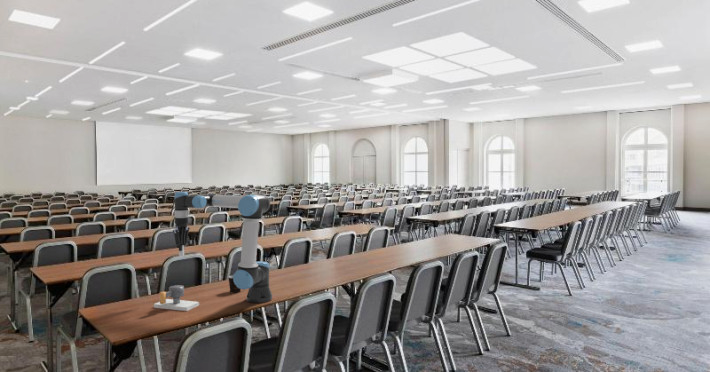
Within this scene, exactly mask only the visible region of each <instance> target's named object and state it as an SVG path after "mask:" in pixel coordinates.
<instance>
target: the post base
mask: <svg viewBox="0 0 710 372" xmlns="http://www.w3.org/2000/svg"><path fill="white" fill-rule="evenodd" d="M198 306H200V301H195V300H194V301H193V300H183V299H181V297H176V298H172V299H171V298H166V303H165V304H160V301H158V302H156V303H153V308H155V309H161V310H162V309H163V310H164V309H165V310H174V311H184V312H188V311H190V310H193V309H194V308H196V307H198Z"/></svg>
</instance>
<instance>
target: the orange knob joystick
mask: <svg viewBox="0 0 710 372" xmlns="http://www.w3.org/2000/svg"><path fill="white" fill-rule="evenodd" d="M184 296H185V286H184V285H181V284H179V285H178V284H177V285H176V284H175V285H171V286H169V287H168V291H160V292H159V302H160V304H165V303H166V299H167V298H168V297H169V298H172V299H173V298H176V297H180V298H181V297H184Z"/></svg>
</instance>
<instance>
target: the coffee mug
mask: <svg viewBox="0 0 710 372" xmlns="http://www.w3.org/2000/svg"><path fill="white" fill-rule="evenodd" d="M233 276H234V274H233V275H229V276H228V284H229V285H228V286H229V292H230V294H239V293H241V290H242V289H240V288H238V287H237V286H236V285H235V283H234V281H233Z"/></svg>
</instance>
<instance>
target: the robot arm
mask: <svg viewBox="0 0 710 372" xmlns="http://www.w3.org/2000/svg"><path fill="white" fill-rule="evenodd" d="M173 200H174V217H175V218H174V224H175V229H173V230H172V232H173V235H174V240H175V245H176V246H178V256H179V257H185V246H186V245H187V243H188V239H189V232H190V230H191V229H190V227H188V225H187V224H189V208H190V209H191V208H192V209H203V208H207V207H212V208H213V207H214V208H230V209H238V211H239V213H240V218H241V219H242V221H243V224H242V240H241V253H240V255H241V256H240V262H239V263H238V264H237V268H236V269H237V270H236V271H235V272H234V273H233V275H234V276H233V281H234V283H235V285H236V286H237V287H238V288H240V289H241V290H247V289H248V291H247V295H246V302H249V303H254V304H256V303H257V304H258V303H259V304H260V303H267V302H270V301H272V300H273V294H272V291H271V288H270V263H269V262H267V261H257V252H258V241H259V240H258V238H259V236H258V235H259V227H260V225H259V224H260V221H261V220H262V218H263V214H264V213H266V212H267V211H269V209H270V207H271V202H270V198H269V196H267V195H265V194H263V193H256V194H247V195H228V194H227V195H225V194H213V193H212V194H211V193H208V194H196V195H195V194H194V195H189V194H188V191H176V192H175V193H174V199H173Z"/></svg>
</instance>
